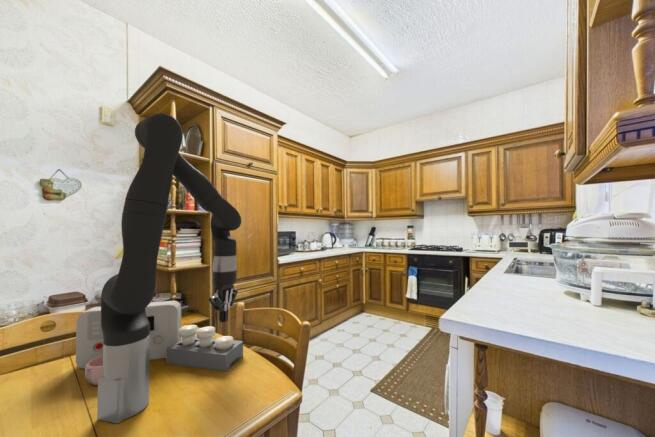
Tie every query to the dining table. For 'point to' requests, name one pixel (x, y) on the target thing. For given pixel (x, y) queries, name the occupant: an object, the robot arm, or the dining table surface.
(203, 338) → the knob
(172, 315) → the rounded white slab
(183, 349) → the mount
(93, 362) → the mug
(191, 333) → the knob
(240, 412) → the dining table surface
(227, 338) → the knob
